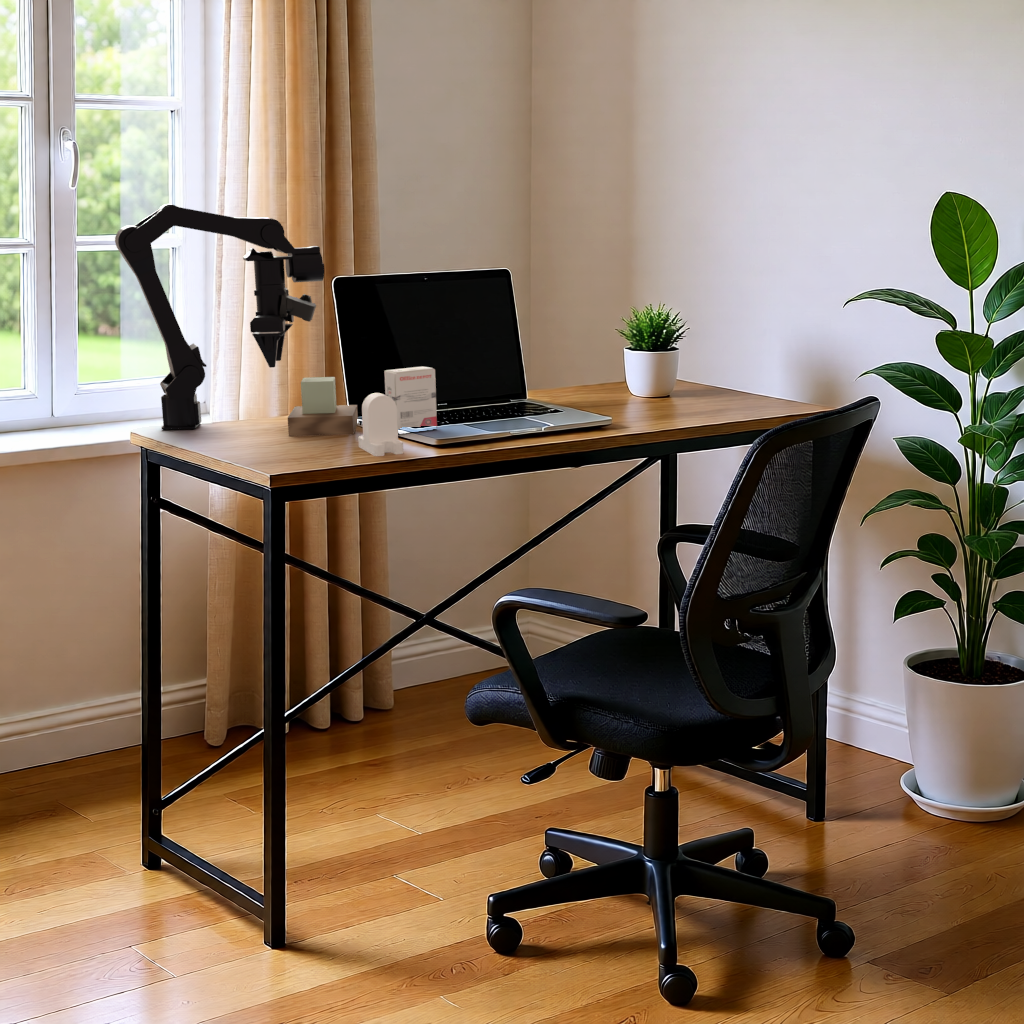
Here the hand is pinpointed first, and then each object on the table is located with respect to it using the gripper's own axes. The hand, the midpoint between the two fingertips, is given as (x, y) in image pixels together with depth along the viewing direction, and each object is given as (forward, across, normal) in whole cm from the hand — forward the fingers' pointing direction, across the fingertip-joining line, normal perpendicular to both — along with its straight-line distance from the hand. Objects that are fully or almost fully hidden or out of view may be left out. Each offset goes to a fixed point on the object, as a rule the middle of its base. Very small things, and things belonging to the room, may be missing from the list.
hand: (275, 363), depth 273 cm
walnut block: (+12, -12, -10) cm, 19 cm away
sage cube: (+8, -12, -9) cm, 17 cm away
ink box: (+11, -16, -27) cm, 33 cm away
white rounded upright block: (+11, -33, -22) cm, 41 cm away
